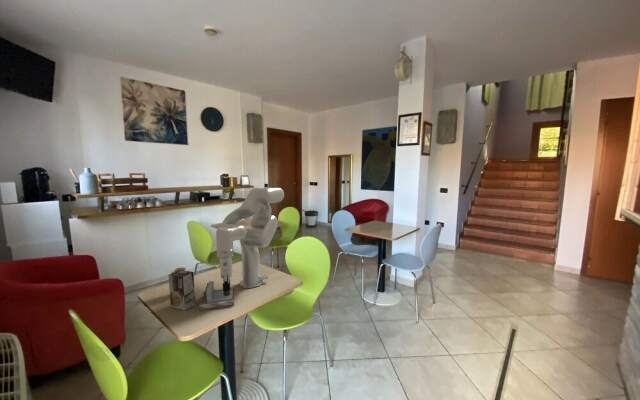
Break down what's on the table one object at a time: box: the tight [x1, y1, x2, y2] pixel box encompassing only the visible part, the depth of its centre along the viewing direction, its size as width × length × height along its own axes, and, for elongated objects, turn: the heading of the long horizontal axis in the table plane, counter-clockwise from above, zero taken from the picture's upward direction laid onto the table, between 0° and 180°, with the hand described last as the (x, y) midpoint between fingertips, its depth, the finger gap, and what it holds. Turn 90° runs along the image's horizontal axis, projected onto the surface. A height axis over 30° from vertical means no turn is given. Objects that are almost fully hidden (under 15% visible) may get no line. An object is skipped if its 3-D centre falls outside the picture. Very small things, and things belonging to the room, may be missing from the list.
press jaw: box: [204, 276, 233, 303], centre depth 127 cm, size 12×11×12 cm
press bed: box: [198, 287, 235, 312], centre depth 128 cm, size 15×15×2 cm
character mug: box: [170, 266, 190, 274], centre depth 135 cm, size 11×7×13 cm, turn 153°
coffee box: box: [168, 270, 196, 311], centre depth 123 cm, size 9×6×16 cm
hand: (226, 288), depth 128 cm, fingers closed on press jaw, 3 cm apart
